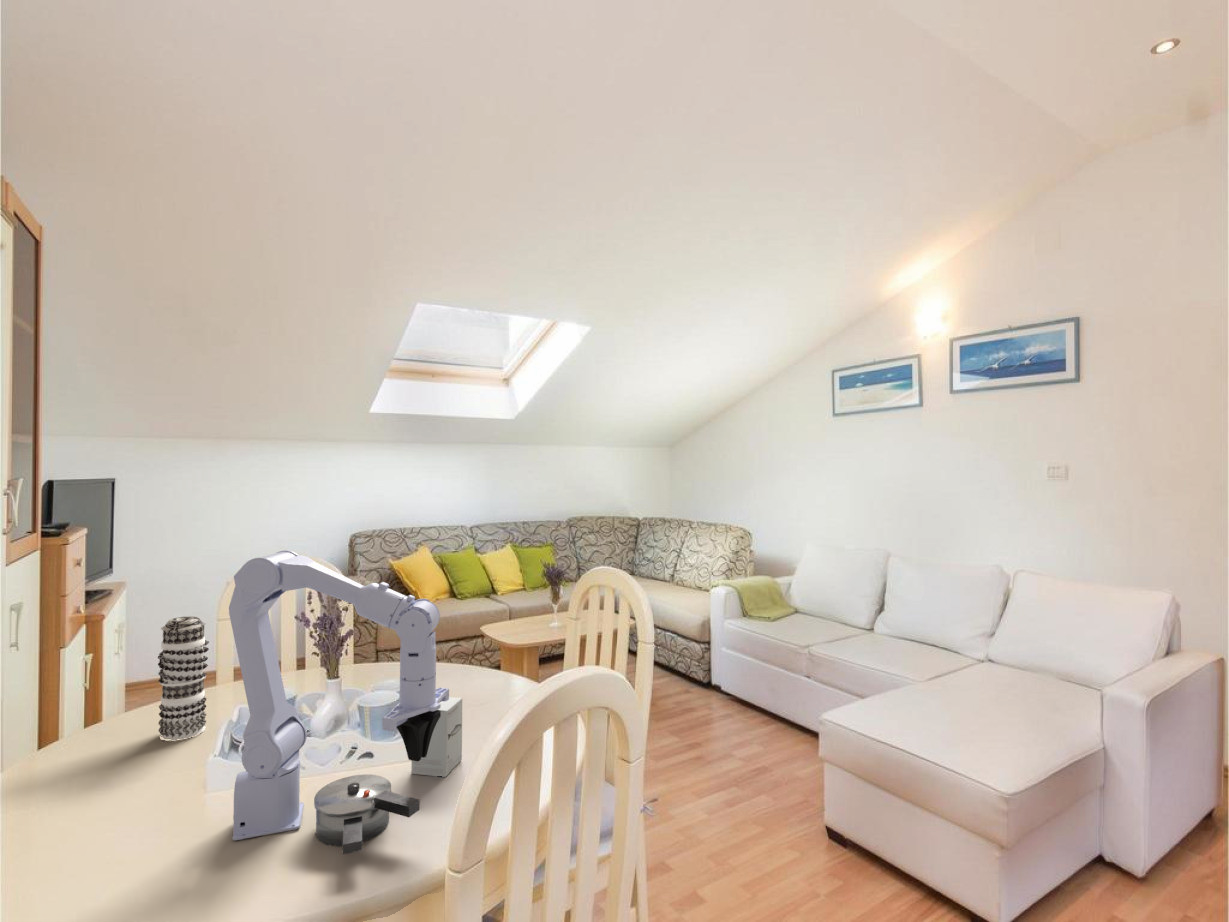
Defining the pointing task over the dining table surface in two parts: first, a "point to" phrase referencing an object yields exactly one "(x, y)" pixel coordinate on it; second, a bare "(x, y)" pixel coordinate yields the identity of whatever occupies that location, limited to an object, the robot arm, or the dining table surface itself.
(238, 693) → the dining table surface
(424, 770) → the supplement box
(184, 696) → the decorative candle
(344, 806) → the lid
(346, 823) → the pot
